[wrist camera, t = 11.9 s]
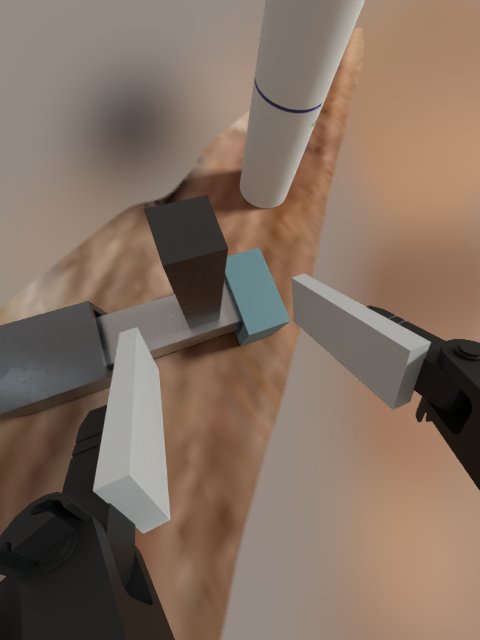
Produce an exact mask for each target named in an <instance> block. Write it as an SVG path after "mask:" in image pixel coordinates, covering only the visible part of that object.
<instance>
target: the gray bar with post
mask: <svg viewBox="0 0 480 640" xmlns="http://www.w3.org/2000/svg"><path fill="white" fill-rule="evenodd" d="M144 210H145V213H146V216H147V219H148V222H149V225H150V228H151V231H152V235H153V238H154V241H155V244H156V247H157V250H158V253H159V256H160V259H161V262H162V266H163V268H164V270H165V273H166V275H167V277H168V280H169V282H170V284H171V287H172V289H173V291H174V295H171V296H168V297H164V298H161V299H157V300H154V301H151V302H147V303H144V304H140V305H137V306H134V307H130V308H127V309H123V310H120V311H117V312H113V313H110V314H106V315H103V316H100V317H96V318H95V319H96V324H97V328H98V332H99V336H100V340H101V344H102V348H103V352H104V356H105V360H106V364H107V368H108V371H113V369H114V364H115V358H116V352H117V346H118V340H119V334H120V332H123V331H126V330H129V329H133V328H136V327H137V328H138V330H139V332H140V334H141V336H142V338H143V340H144V342H145V344H146V346H147V348H148V350H149V352H150V354H151V356H152V358H153V359H154V358H157V357H160V356H163V355H166V354H169V353H171V352H174V351H177V350H180V349H183V348H186V347H189V346H192V345H195V344H198V343H201V342H204V341H207V340H210V339H212V338H215V337H218V336H221V335H224V334H227V333H230V332H233V331H236V330H239V329H242V327H243V325H244V324H243V321H242V319H241V316H240V314H239V311H238V308H237V306H236V303H235V300H234V298H233V295H232V293H231V290H230V287H229V285H228V282H227V279H225V280H224V278H225V270H226V262H227V254H228V247H227V244H226V242H225V239H224V237H223V234H222V232H221V229H220V227H219V224H218V222H217V219H216V216H215V214H214V211H213V209H212V206H211V204H210V201H209V199H208V196H207V195H205V196H201V197H196V198H192V199H187V200H182V201H178V202H173V203H169V204H164V205H159V206H155V207H150V208H145V209H144Z"/></svg>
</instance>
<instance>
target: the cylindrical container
mask: <svg viewBox="0 0 480 640" xmlns="http://www.w3.org/2000/svg"><path fill="white" fill-rule="evenodd" d="M364 1H365V0H266V1H265V8H264V15H263V22H262V30H261V36H260V43H259V50H258V58H257V65H256V72H255V79H254V86H253V93H252V100H251V107H250V114H249V122H248V129H247V136H246V143H245V150H244V157H243V164H242V171H241V178H240V191H241V194H242V196H243V197H244V199H245V200H246V201H247V202H249V203H250V204H252V205H254V206H256V207H259V208H265V209H268V208H274V207H276V206H279V205H280V204H281V203H282V202H283V201H284V200H285V198H286V196H287V193H288V191H289V188H290V186H291V183H292V181H293V178H294V176H295V173H296V171H297V168H298V166H299V163H300V161H301V158H302V156H303V153H304V151H305V148H306V146H307V143H308V141H309V138H310V136H311V133H312V131H313V128H314V126H315V123H316V121H317V118H318V116H319V113H320V111H321V108H322V106H323V103H324V101H325V98H326V96H327V93H328V91H329V88H330V86H331V83H332V81H333V78H334V76H335V73H336V71H337V68H338V66H339V63H340V61H341V58H342V56H343V53H344V51H345V48H346V46H347V43H348V41H349V38H350V36H351V33H352V31H353V28H354V26H355V23H356V21H357V18H358V16H359V13H360V11H361V8H362V6H363V4H364Z"/></svg>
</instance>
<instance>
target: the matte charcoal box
mask: <svg viewBox="0 0 480 640" xmlns="http://www.w3.org/2000/svg"><path fill="white" fill-rule="evenodd" d="M106 314H107V313H106V312H104V311H103V310H101V309H100V308H98V307H97V306H95V305H93V304H92V303H90V302H89V301H87V302H83V303H80V304H76V305H72V306H69V307H65V308H62V309H58V310H55V311H51V312H47V313H44V314H40V315H37V316H33V317H30V318H26V319H22V320H19V321H15V322H12V323H8V324H5V325H1V326H0V420H1V419H7V418H12V417H18V416H23V415H29V414H34V413H37V412H40V411H43V410H46V409H49V408H52V407H54V406H57V405H60V404H63V403H66V402H69V401H71V400H74V399H77V398H80V397H83V396H86V395H88V394H91V393H94V392H97V391H100V390H103V389H106V388H108V387H111V381H112V375H113V371H108V368H107V364H106V360H105V356H104V352H103V348H102V344H101V340H100V336H99V332H98V328H97V324H96V319H95V318H96V317H100V316H103V315H106Z"/></svg>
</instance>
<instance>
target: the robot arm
mask: <svg viewBox="0 0 480 640" xmlns="http://www.w3.org/2000/svg"><path fill="white" fill-rule="evenodd" d="M292 294H293V312H294V322H295V323H296V324H298V325H299V326H300V327H301V328H302V329H303V330H304V331H305V332H306V333H308V334H309V335H310V336H311V337H312V338H313V339H314V340H316V341H317V342H318V343H319V344H320V345H321V346H322V347H323V348H324V349H325V350H327V351H328V352H329V353H330V354H331V355H332V356H333V357H334V358H335V359H337V360H338V361H339V362H340V363H341V364H342V365H343V366H344V367H345V368H347V369H348V370H349V371H350V372H351V373H352V374H353V375H355V377H357V378H358V379H359V380H360V381H361V382H362V383H363V384H364V385H366V386H367V387H368V388H369V389H370V390H371V391H372V392H373V393H374V394H375V395H377V396H378V397H379V398H380V399H381V400H382V401H383V402H384V403H386V404H387V405H388V406H389V407H390V408H391V409H392V410H394V409H396V408H398V407H400V406H402V405H404V404H406V403H408V402H410V400H411V397H412V394H413V392H414V390H415V391H416V392H417V393H419V394H420V395H422V398H421V401H420V403H419V406H418V408H417V411H416V418H417V421H418V422H421V421H422V419H423V417H424V414H425V412H426V413H427V415H426V421H427V422H428V421H432V422H433V423H434V425H435V426H436V428H437V429H438V431H439V432H440V433H441V435H442V436H443V438H444V439H445V441H446V442H447V444H448V445H449V446H450V448H451V450H452V451H453V452H454V454H455V455H456V457H457V458H458V460H459V461H460V463H461V464H462V465H463V467H464V468H465V470H466V471H467V473H468V474H469V475H470V477H471V479H472V480H473V481H474V483H475V484H476V486H477V487H478V489H479V490H480V343H478V342H475V341H470V340H465V339H453V340H448V341H445V340H442V339H441V338H439V337H436V336H435V335H433V334H431V333H429V332H427V331H425V330H423V329H421V328H419V327H417V326H415V325H413V324H411V323H409V322H405V320H403V319H401V318H400V317H398V316H397V317H396V316H395V315H394V314H392V313H390V312H388V311H386V310H384V309H381V308H377V307H373V306H367V307H365V306H363V305H362V304H360V303H358V302H356V301H354V300H352V299H350V298H349V297H347V296H345V295H343V294H341V293H339V292H338V291H336V290H334V289H332V288H330V287H328V286H326V285H325V284H323V283H321V282H319V281H317V280H315V279H314V278H312V277H310V276H308V275H306V274H302V275H299V276H295V277H292ZM72 456H73V458H72V459H71V461H70V465H69V469H68V472H67V476H66V480H65V483H64V487H63V491H62V493H59V492H55V493H51V494H47V495H44V496H43V497H41V498H39V499H37V500H36V501H34V502H32V503H31V504H29V505H28V506H27V507H26V508H25V509H24V510H23V511H22V512H21V513H19V514H18V515H17V516H16V517H15V518H14V519H13V521H12V522H11V523H10V524H9V526H8V527H7V528H6V529H5V531H4V532H3V533H2V535H1V537H0V574H1V575H4V576H7V577H6V578H4V579H3V580H2V581H1V582H0V640H175V639H174V636H173V634H172V631H171V629H170V626H169V624H168V621H167V618H166V616H165V613H164V611H163V608H162V606H161V603H160V601H159V598H158V596H157V593H156V590H155V588H154V585H153V583H152V580H151V578H150V575H149V573H148V570H147V568H146V565H145V562H144V560H143V557H142V555H141V553H140V551H139V550H138V548H137V547H136V546H135V527H136V528H137V529H138V530H140V531H141V532H142V533H145V532H147V531H149V530H151V529H154V528H156V527H158V526H160V525H162V524H164V523H166V522H168V521H170V508H169V496H168V483H167V470H166V457H165V444H164V431H163V418H162V405H161V393H160V380H159V370H158V368H157V366H156V364H155V362H154V360H153V358H152V356H151V354H150V352H149V350H148V348H147V346H146V344H145V342H144V340H143V338H142V336H141V334H140V332H139V330H138V328H137V327H136V328H133V329H129V330H126V331H123V332H120V334H119V340H118V346H117V352H116V358H115V364H114V369H113V375H112V381H111V387H110V393H109V399H108V405H105V406H103V407H100V408H97V409H95V410H92V411H90V412H89V413H88V415H87V416H86V418H85V419H84V421H83V423H82V424H81V426H80V428H79V432H78V435H77V439H76V445H75V446H74V450H73V454H72Z"/></svg>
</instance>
